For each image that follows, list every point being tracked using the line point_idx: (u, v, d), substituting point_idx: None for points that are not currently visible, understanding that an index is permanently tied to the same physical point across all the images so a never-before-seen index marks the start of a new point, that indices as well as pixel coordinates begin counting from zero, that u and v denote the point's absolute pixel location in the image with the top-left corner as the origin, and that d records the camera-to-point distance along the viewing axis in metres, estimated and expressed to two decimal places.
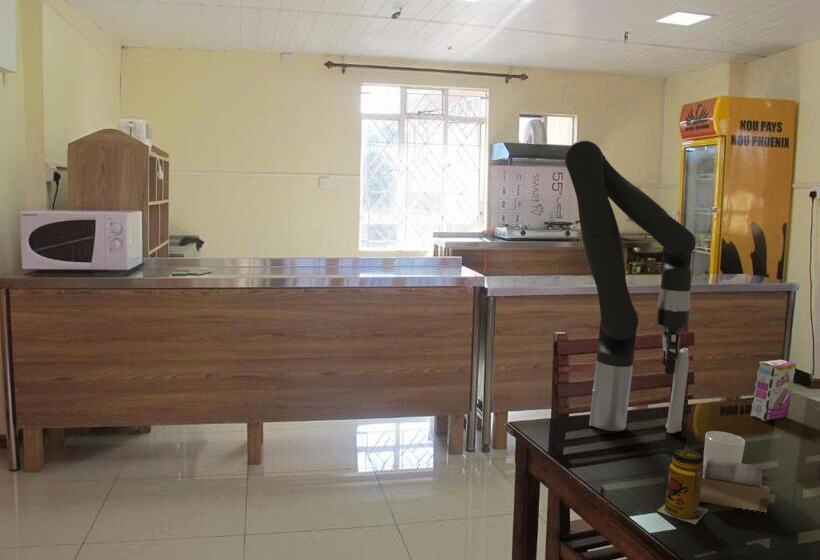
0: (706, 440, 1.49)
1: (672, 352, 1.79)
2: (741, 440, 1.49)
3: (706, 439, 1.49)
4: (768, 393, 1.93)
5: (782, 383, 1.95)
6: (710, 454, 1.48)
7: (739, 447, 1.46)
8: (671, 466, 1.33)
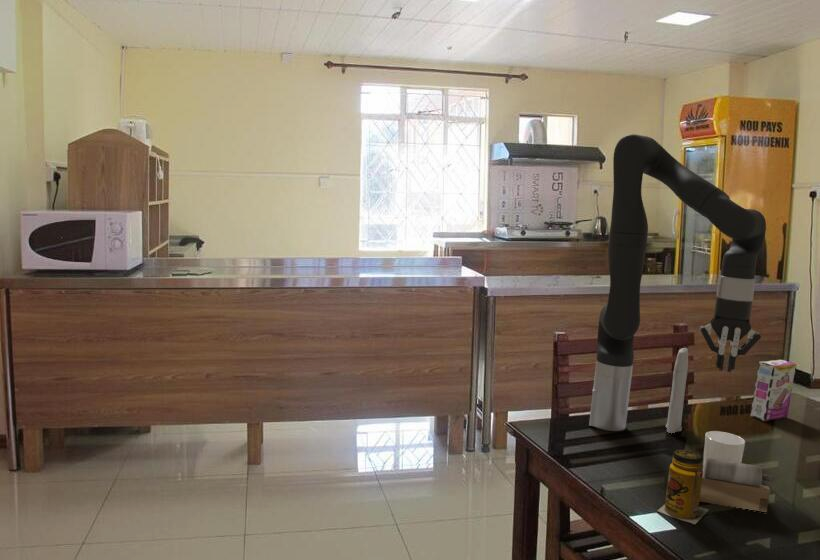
0: (706, 440, 1.49)
1: None
2: (741, 440, 1.49)
3: (706, 439, 1.49)
4: (768, 393, 1.93)
5: (782, 383, 1.95)
6: (710, 454, 1.48)
7: (739, 447, 1.46)
8: (671, 466, 1.33)
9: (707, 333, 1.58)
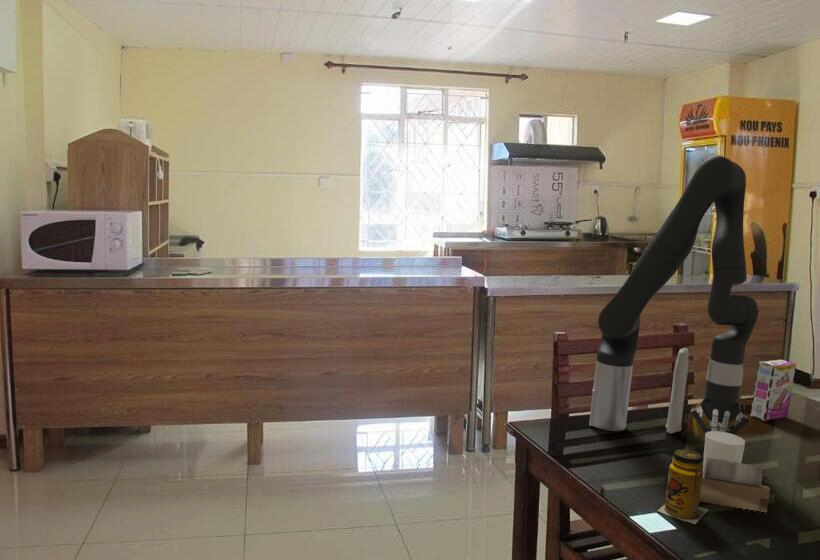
0: (706, 440, 1.49)
1: None
2: (741, 440, 1.49)
3: (706, 439, 1.49)
4: (768, 393, 1.93)
5: (782, 383, 1.95)
6: (710, 454, 1.48)
7: (739, 447, 1.46)
8: (671, 466, 1.33)
9: (698, 416, 1.61)
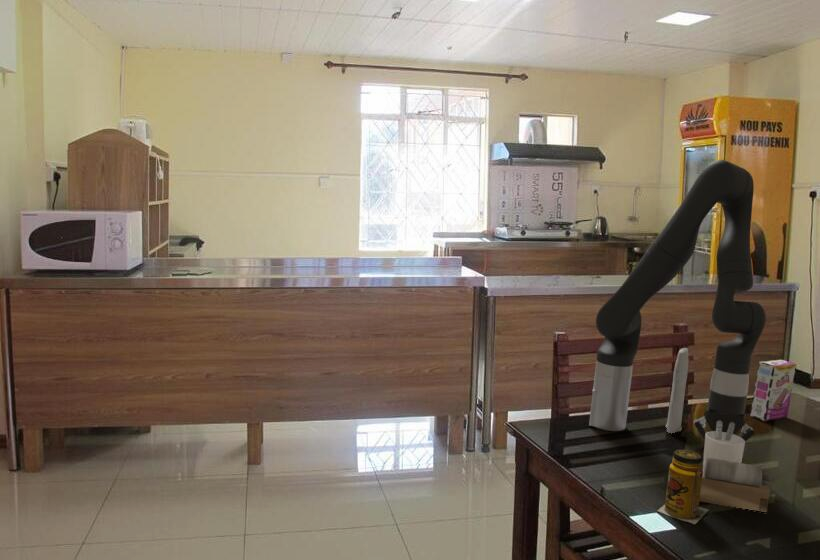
0: (706, 440, 1.49)
1: None
2: (741, 440, 1.49)
3: (706, 439, 1.49)
4: (768, 393, 1.93)
5: (782, 383, 1.95)
6: (710, 454, 1.48)
7: (739, 447, 1.46)
8: (671, 466, 1.33)
9: (702, 427, 1.54)
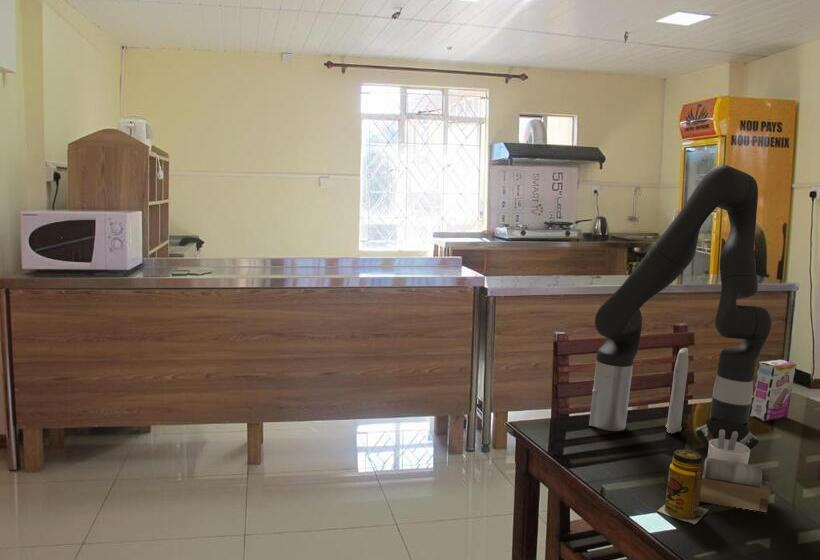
0: (710, 449, 1.44)
1: None
2: (745, 448, 1.44)
3: (711, 448, 1.43)
4: (768, 393, 1.93)
5: (782, 383, 1.95)
6: None
7: (745, 456, 1.40)
8: (671, 466, 1.33)
9: (703, 436, 1.48)
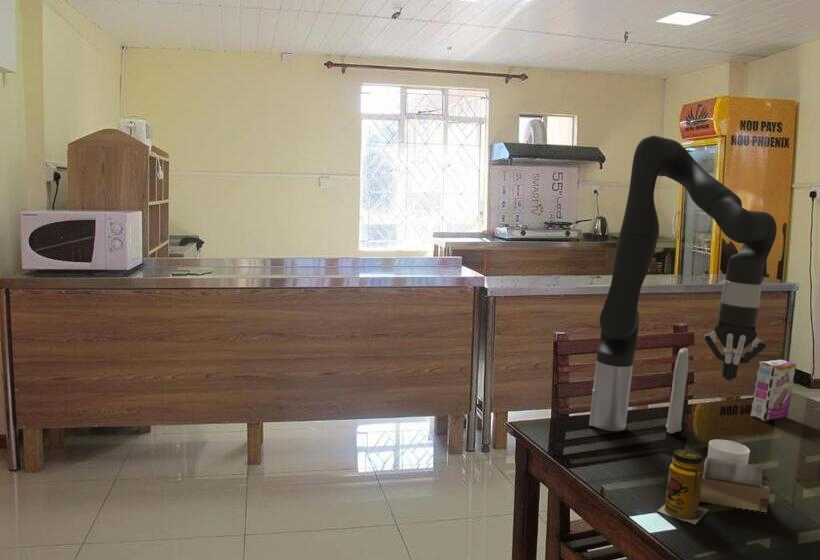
0: (710, 449, 1.44)
1: (729, 362, 1.53)
2: (745, 448, 1.44)
3: (711, 448, 1.43)
4: (768, 393, 1.93)
5: (782, 383, 1.95)
6: None
7: (745, 456, 1.40)
8: (671, 466, 1.33)
9: (712, 341, 1.51)
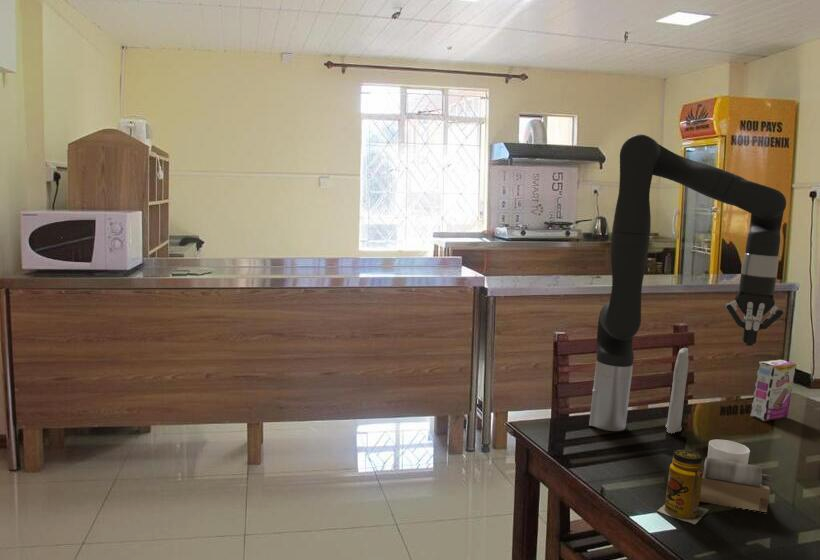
0: (710, 450, 1.44)
1: (749, 329, 1.65)
2: (745, 448, 1.44)
3: (711, 449, 1.43)
4: (768, 393, 1.93)
5: (782, 383, 1.95)
6: None
7: (745, 456, 1.40)
8: (671, 466, 1.33)
9: (733, 309, 1.64)
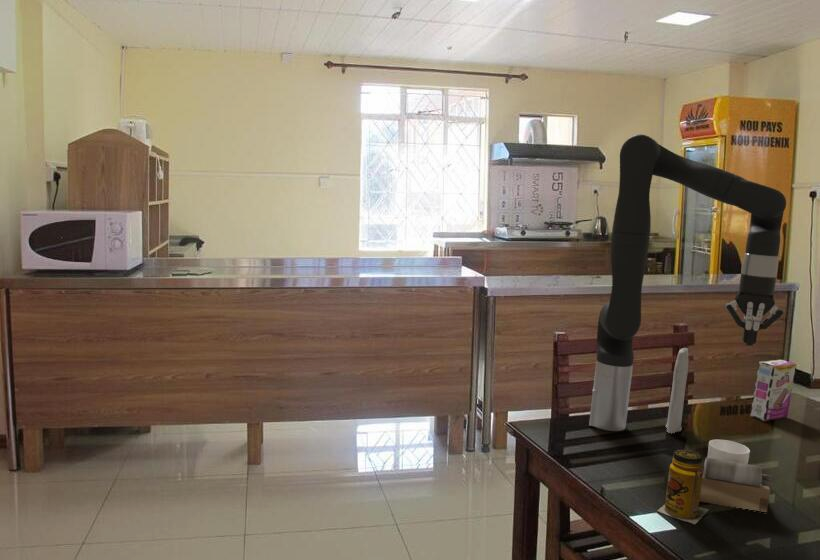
0: (710, 450, 1.44)
1: None
2: (745, 448, 1.44)
3: (711, 449, 1.43)
4: (768, 393, 1.93)
5: (782, 383, 1.95)
6: None
7: (745, 456, 1.40)
8: (671, 466, 1.33)
9: (733, 309, 1.64)
